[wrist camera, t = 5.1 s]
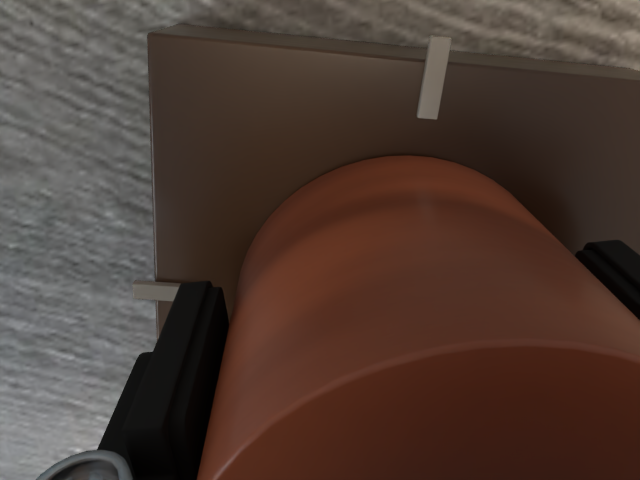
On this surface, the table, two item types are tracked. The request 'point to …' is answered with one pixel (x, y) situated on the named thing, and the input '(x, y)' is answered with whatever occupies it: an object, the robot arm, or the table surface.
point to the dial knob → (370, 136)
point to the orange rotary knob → (421, 340)
